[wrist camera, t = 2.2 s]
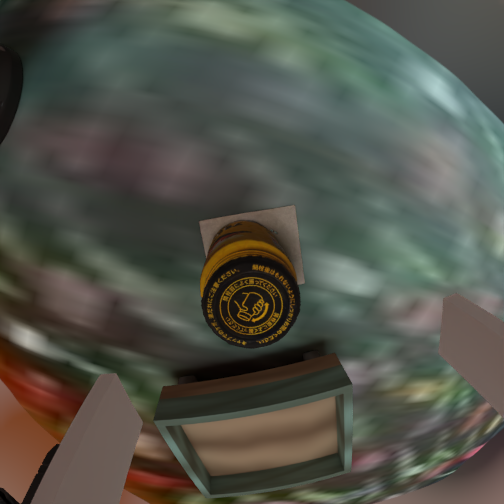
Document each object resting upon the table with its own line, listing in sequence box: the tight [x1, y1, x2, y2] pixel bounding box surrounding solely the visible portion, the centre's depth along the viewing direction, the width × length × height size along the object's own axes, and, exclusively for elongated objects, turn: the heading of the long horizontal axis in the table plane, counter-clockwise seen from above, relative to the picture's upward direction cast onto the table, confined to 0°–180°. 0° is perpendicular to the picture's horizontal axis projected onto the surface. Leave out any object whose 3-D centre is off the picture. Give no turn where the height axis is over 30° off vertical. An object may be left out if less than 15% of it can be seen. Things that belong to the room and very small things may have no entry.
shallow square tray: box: [153, 350, 353, 498], centre depth 27 cm, size 15×17×8 cm
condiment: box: [199, 205, 305, 349], centre depth 21 cm, size 7×8×12 cm
